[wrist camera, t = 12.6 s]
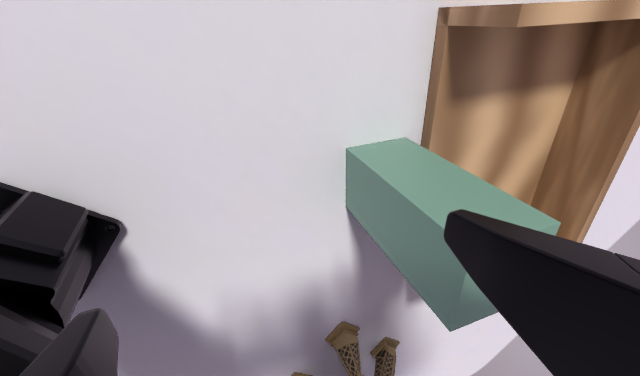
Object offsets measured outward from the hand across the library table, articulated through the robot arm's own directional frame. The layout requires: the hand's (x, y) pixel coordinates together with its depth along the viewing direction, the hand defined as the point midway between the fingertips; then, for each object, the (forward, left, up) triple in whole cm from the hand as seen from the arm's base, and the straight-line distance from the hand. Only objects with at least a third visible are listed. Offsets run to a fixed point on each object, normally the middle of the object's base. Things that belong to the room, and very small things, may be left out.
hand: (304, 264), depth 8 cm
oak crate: (+9, -20, -13) cm, 25 cm away
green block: (+2, -11, -13) cm, 17 cm away
